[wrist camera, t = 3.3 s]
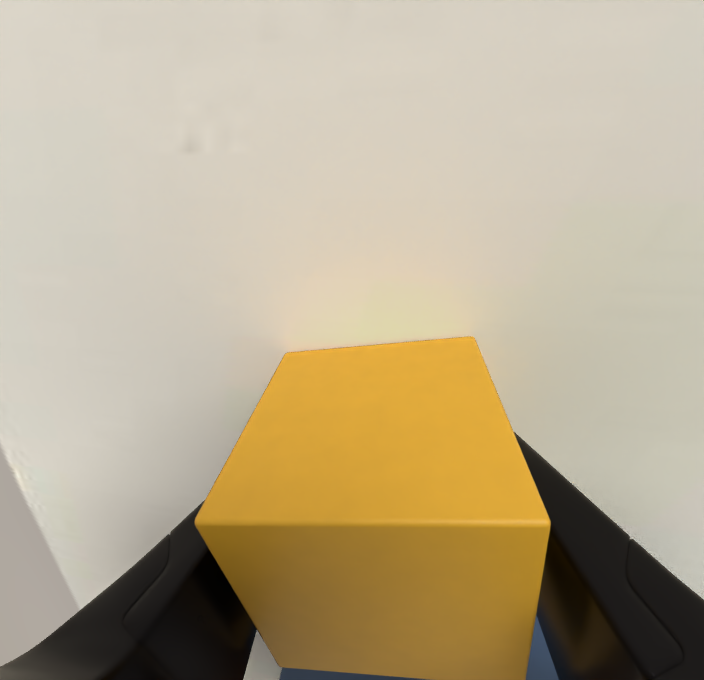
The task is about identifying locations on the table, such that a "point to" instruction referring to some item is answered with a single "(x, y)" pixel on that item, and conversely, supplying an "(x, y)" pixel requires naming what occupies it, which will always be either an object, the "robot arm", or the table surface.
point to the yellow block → (383, 516)
